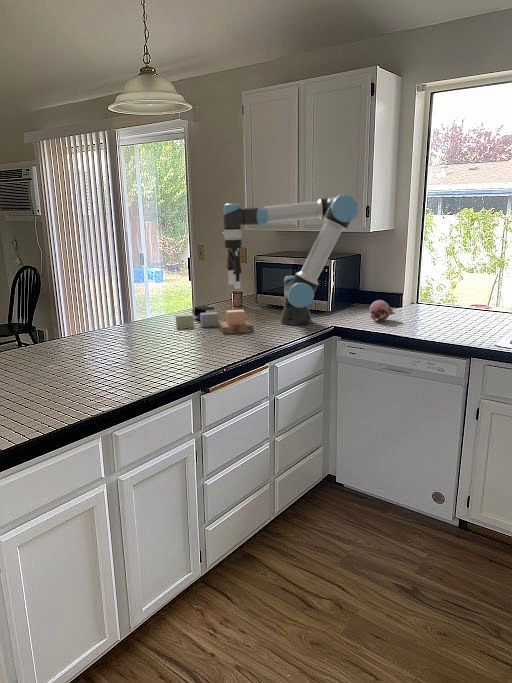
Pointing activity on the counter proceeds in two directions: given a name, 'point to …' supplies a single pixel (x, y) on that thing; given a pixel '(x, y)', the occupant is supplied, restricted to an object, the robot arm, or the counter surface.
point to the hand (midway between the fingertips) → (234, 286)
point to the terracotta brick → (235, 317)
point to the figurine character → (200, 310)
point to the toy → (380, 310)
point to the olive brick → (184, 321)
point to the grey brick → (209, 319)
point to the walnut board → (235, 327)
